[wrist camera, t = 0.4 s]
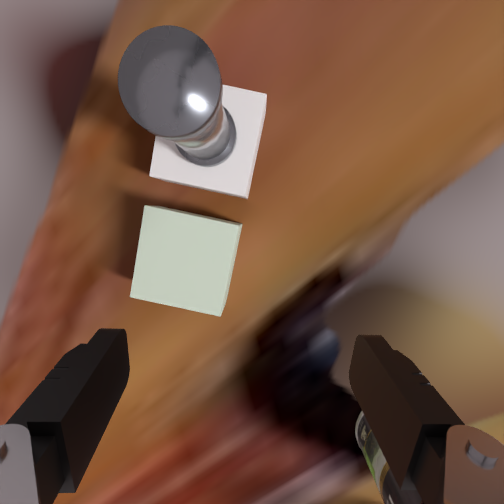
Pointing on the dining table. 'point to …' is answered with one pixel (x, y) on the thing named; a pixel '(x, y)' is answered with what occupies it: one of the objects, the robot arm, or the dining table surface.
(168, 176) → the stand
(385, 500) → the coffee can
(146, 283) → the stand
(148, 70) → the cylinder
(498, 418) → the dining table surface
